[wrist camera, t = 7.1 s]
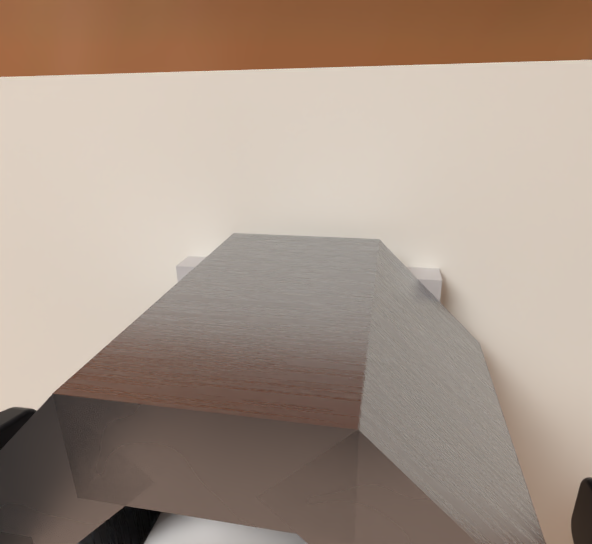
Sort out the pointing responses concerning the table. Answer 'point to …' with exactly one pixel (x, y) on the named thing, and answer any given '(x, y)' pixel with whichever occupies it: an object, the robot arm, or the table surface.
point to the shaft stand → (313, 221)
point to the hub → (277, 412)
